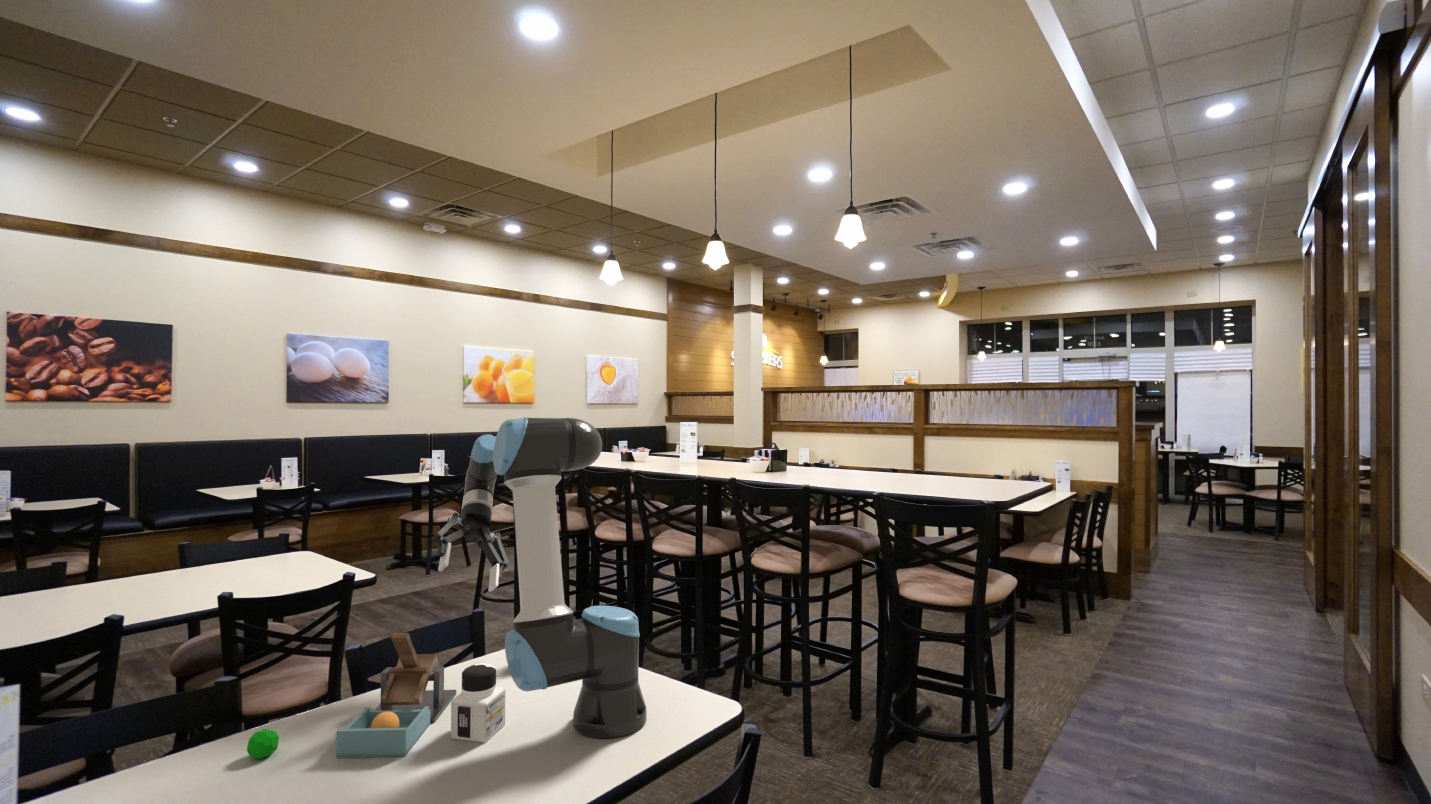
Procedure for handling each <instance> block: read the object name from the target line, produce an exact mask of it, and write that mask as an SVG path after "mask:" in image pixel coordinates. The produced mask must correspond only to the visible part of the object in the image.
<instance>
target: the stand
mask: <svg viewBox="0 0 1431 804" xmlns="http://www.w3.org/2000/svg"><path fill="white" fill-rule="evenodd" d="M391 668H394V667H392V666H389V667H388V666H387V667H385V669H383V670H382V671H381V672H380V703H379V705H378V706H377V707H376V708H375V709H374V710H422V709H423V708H424V707H425V706H429V709H430V724H431V723H432V724H434V723H436V722H437V720H439V718H440V717H441V715H442V714H443V712H444V711H445V710H446V708H447V707H448V706H449V705H450V704H451V701H452V699H454V698H455V697H456V695H457V689H445V666H440V665H439V667H438V668H437V669H436V670H435V671H434V681H432V682H433V688H432V689H430V690H429V689H427V690H425V693H424V696H423V699H422V702H421V704H419V705H384V704H383V701H382V699H381V698H382V696H383V693H384V691H385V688H386V685H387V683H388V680H389V678H390V675H391V672H390V670H391Z"/></svg>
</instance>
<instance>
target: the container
mask: <svg viewBox="0 0 1431 804" xmlns="http://www.w3.org/2000/svg"><path fill="white" fill-rule="evenodd" d="M505 725H506V688H505V687H501V686H499V687H498V686H497V668H496V667H495V666H494V665H492V664H489V663H483V662H482V663H476V664H472V665H470V666H468V667H466V668H464V670H463V671H462V672H461V692H460V693H459V694H458V695H457V696H455V697H454V698H453V699H452V700H451V702H450V739H452V740H453V739H454V740H458V741H459V740H460V741H467V742H477V743H487V742H488V741H489V740H490V739H491V738H492V737H493V736H494V735H495V734H496V733H498V731H500V730H501V729H502V728H503V727H504V726H505Z"/></svg>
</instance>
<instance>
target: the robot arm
mask: <svg viewBox="0 0 1431 804" xmlns="http://www.w3.org/2000/svg"><path fill="white" fill-rule="evenodd" d="M471 449H472V450H471V452H470V459H469V465H468V467H467V471H466V474H465V477H464V478H465V479H464V490H463V497H462V503H461V504H462V505H461V510H460V516H459V513H458V512H454V513H453V514H451V515H450V516H449V517H448V519H447V521H446V524H444V526H442V527H441V529H440V530H439V531H438V532H436V533H435V535H434V536H432V537H431V541H432V542H433V543H437V544H436V545H435V547H436V548H437V549H438V550H437V556H438V557H440V558H439V561H438V572H440V573H441V572H442V571H444V570H445V569H446V568H448V566H449V564H450V563H449V562H450V556H451V551H452V550H451V548H452V542H454V541H456V540H459V539H460V538H462V537H464V538H465V540H467V541H471V542H472V543H474V544H476V545H477V546H478V547H479V549H481V550H482V552H483V553H484V555H485V557H486V558H487V560H488V563H490V565H491V568H490V570H489V577H488V578H489V579H488V580H489V581H488V592H490V593H492V592H493V591H494V590H495V589H497V587H499V579H500V578H501V577H502V573H503V571H504V570H505V569H507V568H508V567H509V566H510V561H509V559H508V556H507V553H506V552H505V549H504V546H503V543H502V540H501V534H500V532H498V531H497V532H496V533H494V532H491V530H490V526H491V523H492V514H493V513H492V512H493V504H494V491H495V486H496V485H495V484H496V480H497V476H498V475H500V476H503V480H504V482H503V483H504V485H505V486H506V487H508V489H509V490H511V492H512V500H513V514H514V515H513V516H514V530H515V545H516V547H515V548H516V557H517V558H516V559H517V574H518V575H517V576H518V589H519V590H518V591H519V604H520V611H519V613H518V614H517V616H516V617H515V618H514V619H513V629H510V630H509V631H508V632H507V633H506V635H505V637H504V641H505V643H504V653H505V659H506V663H507V667H508V671H509V673H510V677H511V678H512V680H513V682H514V684H515V686H516V687H517V688H518V689H519V690H521V691H524V692H531V691H537V690H538V691H539V690H543V691H544V690H546V689H548V688H551V687H555V686H560V685H564V684H568V683H573V682H577V681H582V682H581V688H580V690H579V694H578V696H577V701H576V704H575V707H574V710H573V716H572V717H573V718H572V719H573V722H572V725H573V728H574V729H575V730H576V732H578V733H579V734H581V735H583V736H585V737H589V738H593V739H594V738H596V739H613V738H621V737H625V736H627V735H628V736H629V735H631V734H633V733H636V732H637V731H639V730H640V729H642V727H644V726H645V724H646V722H647V705H646V702H645V699H644V696H643V693H642V690H641V687H640V683H639V663H640V662H639V659H640V658H639V657H640V656H639V652H640V649H639V648H640V647H639V645H640V630H639V629H640V628H639V627H640V626H639V625H640V624H639V619H638V616H637V615H636V614H635V612H633V611H631V610H629V609H627V608H623V607H619V606H612V605H593V606H592V605H591V606H588V607H586V608H585V609H583V611H582V613H581V618H577V619H574V611H573V610H572V609H571V608H570V607H569V606H567V605H566V602H565V592H564V581H563V579H564V578H563V568H562V558H561V545H560V533H559V521H558V509H557V508H558V507H557V498H556V497H557V495H556V486H558V484H559V482H560V481H561V480H562V472H571V471H577V470H582V469H585V468H587V467H589V466H591V465H593V464H594V463H595V462H596V461H597V460H598V459H599V457H600V456H601V453H602V450H603V440H602V437H601V434H600V432H599V431H598V430H597V429H596V427H594V425H592V424H591V423H589V422H587V421H586V420H583V419H580V418H574V417H564V418H563V417H562V418H561V417H559V418H558V417H557V418H555V417H522V418H509V419H506V420H505V421H503V422H502V423H501V425H500V426H499V427H498V430H497V434H496V435H495V436H494V435H492V434H483V435H481V436H479V437H477V439H475V441H474V444H473V446H472V448H471ZM457 524H458V525H457ZM456 525H457V526H458V528H459V530H457V531H455V532H452V533H451V534H449V535H447V536H444V535H445V534H446V532H448V530H450V529H451V527H453V526H456Z"/></svg>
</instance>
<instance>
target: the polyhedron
mask: <svg viewBox="0 0 1431 804" xmlns="http://www.w3.org/2000/svg"><path fill="white" fill-rule="evenodd" d="M279 741H280V736H279V735H278V733H277V731H276V730H272V729H268V728H263V729H260V730H256V732H254V733H253V734H252V735H251V736H250V737H249V739H248V743H247V748H246V752H247V753H248V756H249V757H253V758H257V759H260V760H263V759H264V757H265V758H268V757H270V756H271V755H273V753H275V751H276V750H277V748H278V747H279ZM267 756H268V757H267Z"/></svg>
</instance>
